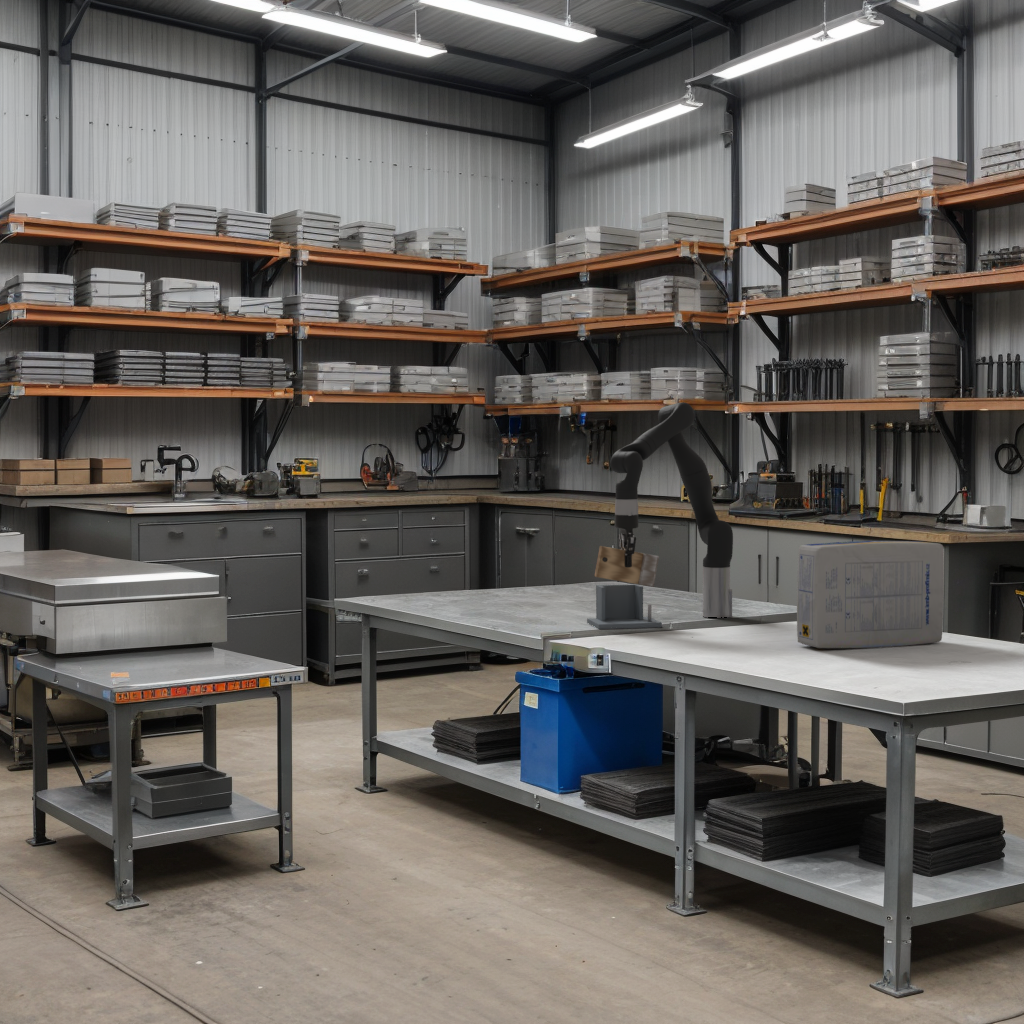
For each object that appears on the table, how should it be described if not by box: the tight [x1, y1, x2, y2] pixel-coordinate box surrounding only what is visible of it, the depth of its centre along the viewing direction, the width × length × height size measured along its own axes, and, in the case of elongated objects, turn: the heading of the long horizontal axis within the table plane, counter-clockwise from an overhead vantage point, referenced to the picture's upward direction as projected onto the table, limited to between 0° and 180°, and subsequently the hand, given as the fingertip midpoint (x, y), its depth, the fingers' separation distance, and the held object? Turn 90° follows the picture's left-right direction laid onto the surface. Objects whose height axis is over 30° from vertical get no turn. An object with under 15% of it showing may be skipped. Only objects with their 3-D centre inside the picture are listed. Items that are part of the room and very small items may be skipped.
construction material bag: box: [796, 540, 945, 649], centre depth 351 cm, size 43×12×30 cm, turn 108°
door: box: [594, 545, 660, 588], centre depth 392 cm, size 19×5×10 cm, turn 101°
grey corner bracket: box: [586, 583, 663, 630], centre depth 397 cm, size 21×15×12 cm
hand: (626, 566), depth 393 cm, fingers closed on door, 3 cm apart
